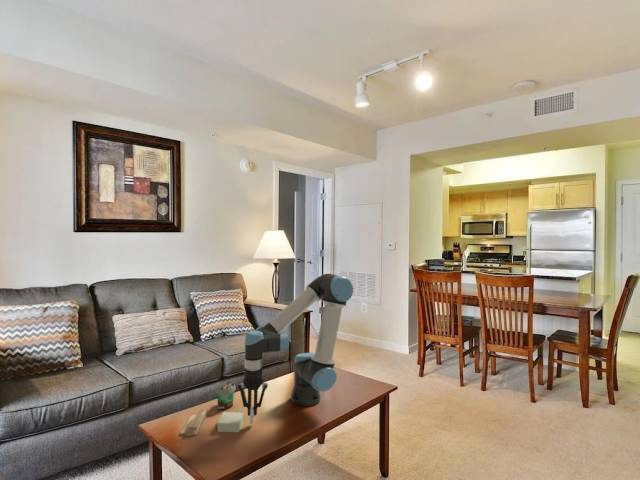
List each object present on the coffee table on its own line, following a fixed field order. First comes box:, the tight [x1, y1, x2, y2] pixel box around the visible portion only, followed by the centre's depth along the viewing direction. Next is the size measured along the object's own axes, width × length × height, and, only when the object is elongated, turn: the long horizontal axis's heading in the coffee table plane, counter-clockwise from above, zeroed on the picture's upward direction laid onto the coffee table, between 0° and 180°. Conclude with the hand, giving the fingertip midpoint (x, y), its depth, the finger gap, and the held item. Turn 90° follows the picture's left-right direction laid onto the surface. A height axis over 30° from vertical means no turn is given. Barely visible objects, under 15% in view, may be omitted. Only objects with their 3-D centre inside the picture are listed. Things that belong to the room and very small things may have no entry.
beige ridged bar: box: [179, 408, 208, 437], centre depth 164 cm, size 6×16×4 cm, turn 2°
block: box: [217, 411, 245, 433], centre depth 164 cm, size 9×10×4 cm
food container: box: [216, 380, 237, 411], centre depth 183 cm, size 12×6×10 cm, turn 168°
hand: (252, 422), depth 165 cm, fingers closed
